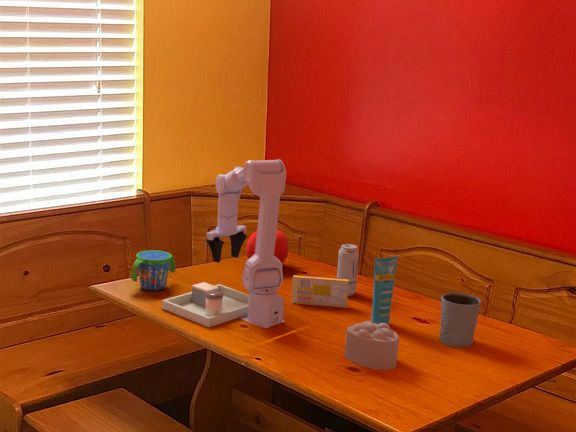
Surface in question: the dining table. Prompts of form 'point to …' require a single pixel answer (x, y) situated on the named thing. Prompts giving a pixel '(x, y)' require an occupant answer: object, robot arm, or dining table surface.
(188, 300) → the white square tray
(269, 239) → the robot arm
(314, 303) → the candy box
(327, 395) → the dining table surface
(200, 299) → the pale pink block
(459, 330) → the grey tapered cup
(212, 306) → the jar
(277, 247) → the tomato
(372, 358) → the lumpy-topped squat cylinder
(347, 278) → the energy drink can
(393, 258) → the tube
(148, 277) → the snack cup
